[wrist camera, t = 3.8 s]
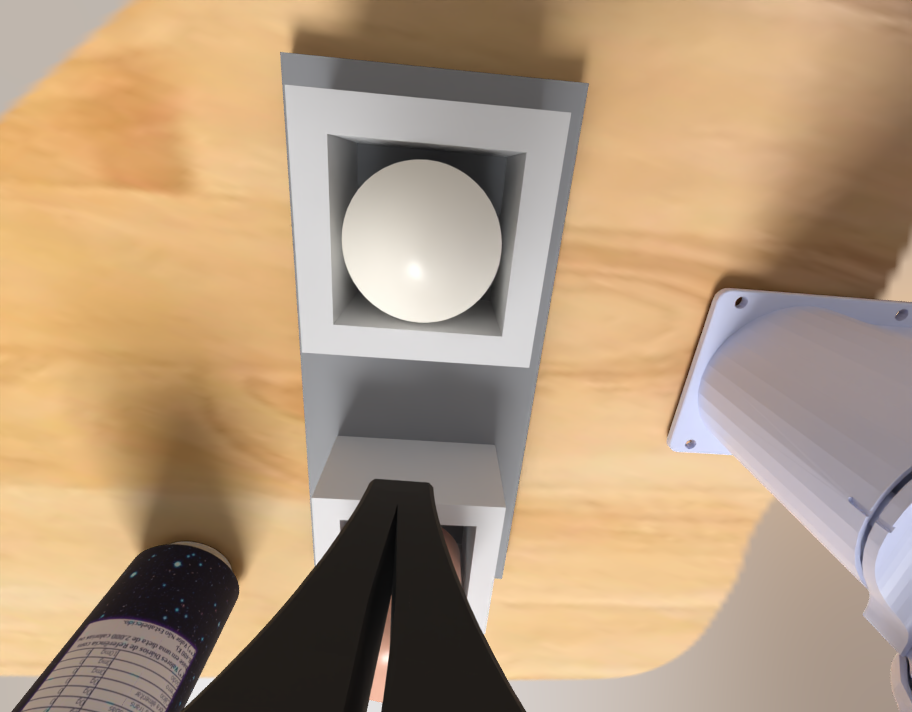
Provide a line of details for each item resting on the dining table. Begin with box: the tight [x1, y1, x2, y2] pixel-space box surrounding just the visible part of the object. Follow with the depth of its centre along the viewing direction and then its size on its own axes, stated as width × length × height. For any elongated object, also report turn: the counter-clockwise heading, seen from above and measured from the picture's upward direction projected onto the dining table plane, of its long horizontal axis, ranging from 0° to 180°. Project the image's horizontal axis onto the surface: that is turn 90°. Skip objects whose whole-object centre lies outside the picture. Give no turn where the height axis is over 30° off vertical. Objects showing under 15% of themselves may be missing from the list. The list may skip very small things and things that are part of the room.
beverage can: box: [12, 541, 239, 712], centre depth 18 cm, size 6×6×12 cm
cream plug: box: [342, 159, 502, 323], centre depth 14 cm, size 4×4×4 cm
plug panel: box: [280, 52, 589, 634], centre depth 17 cm, size 10×23×5 cm, turn 175°
